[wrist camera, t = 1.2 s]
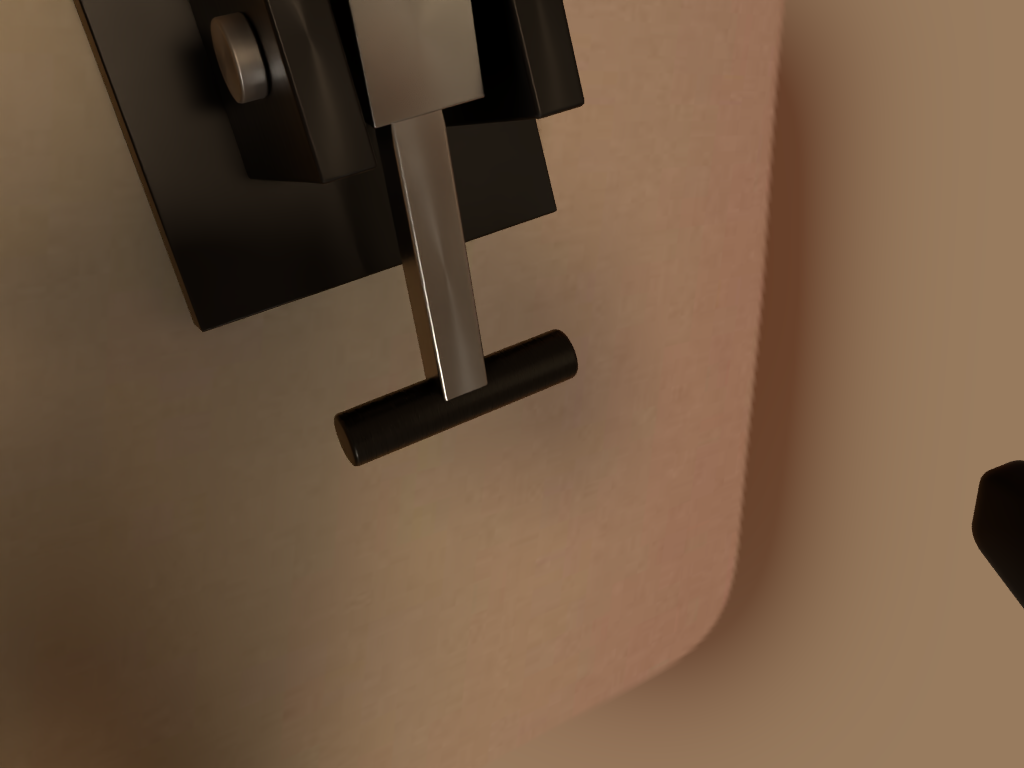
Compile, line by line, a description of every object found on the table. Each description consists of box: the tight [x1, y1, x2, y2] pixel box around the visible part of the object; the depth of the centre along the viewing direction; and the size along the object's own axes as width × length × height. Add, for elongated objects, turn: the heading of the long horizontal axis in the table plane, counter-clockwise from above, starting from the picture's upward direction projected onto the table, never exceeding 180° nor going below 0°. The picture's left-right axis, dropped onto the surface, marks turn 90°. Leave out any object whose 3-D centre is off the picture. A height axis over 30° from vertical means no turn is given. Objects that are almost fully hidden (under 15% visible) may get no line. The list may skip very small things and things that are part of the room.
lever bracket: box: [74, 0, 584, 332], centre depth 19 cm, size 10×9×7 cm
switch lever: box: [329, 0, 578, 466], centre depth 19 cm, size 10×6×2 cm, turn 16°
